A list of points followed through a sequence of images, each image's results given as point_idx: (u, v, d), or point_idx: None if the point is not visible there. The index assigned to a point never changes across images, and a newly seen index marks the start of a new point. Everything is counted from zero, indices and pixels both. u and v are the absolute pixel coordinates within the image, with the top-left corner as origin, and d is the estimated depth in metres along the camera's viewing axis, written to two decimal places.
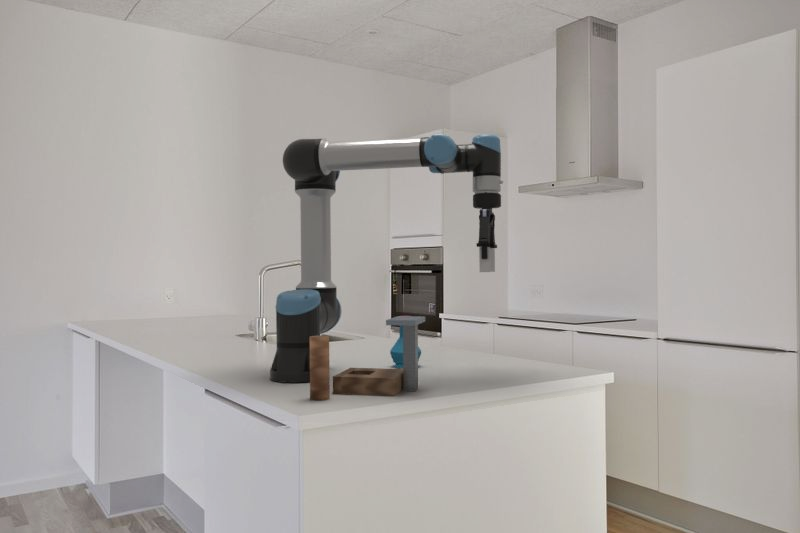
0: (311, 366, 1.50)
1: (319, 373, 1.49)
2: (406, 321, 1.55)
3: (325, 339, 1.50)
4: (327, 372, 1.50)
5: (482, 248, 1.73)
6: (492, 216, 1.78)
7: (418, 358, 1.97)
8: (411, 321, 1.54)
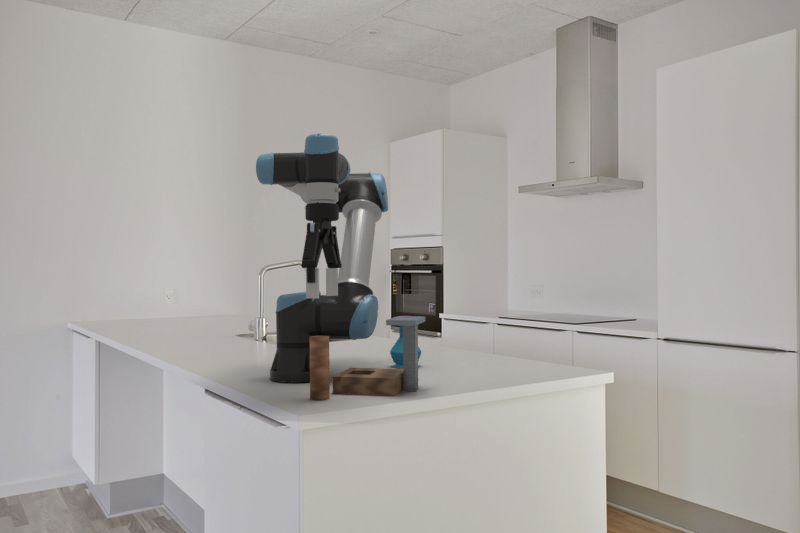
0: (311, 366, 1.50)
1: (319, 373, 1.49)
2: (406, 321, 1.55)
3: (325, 339, 1.50)
4: (327, 372, 1.50)
5: (308, 270, 1.43)
6: (326, 231, 1.49)
7: (418, 358, 1.97)
8: (411, 321, 1.54)
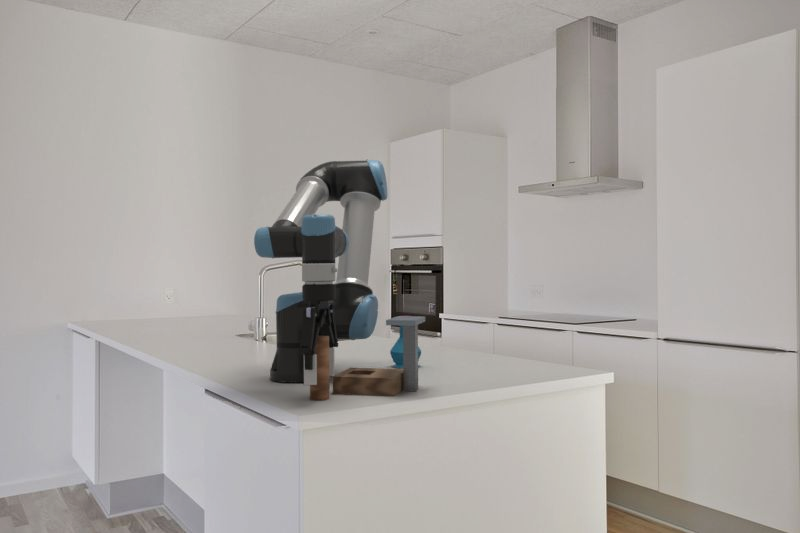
0: None
1: (319, 373, 1.49)
2: (406, 321, 1.55)
3: (325, 339, 1.50)
4: (327, 372, 1.50)
5: (305, 357, 1.44)
6: (323, 312, 1.49)
7: (418, 358, 1.97)
8: (411, 321, 1.54)
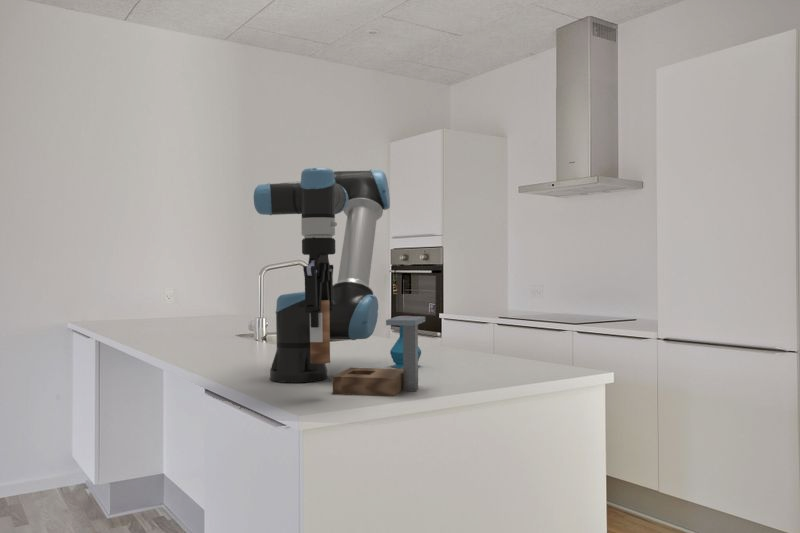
0: None
1: None
2: (406, 321, 1.55)
3: (325, 302, 1.50)
4: (327, 336, 1.51)
5: (311, 315, 1.48)
6: (322, 267, 1.49)
7: (418, 358, 1.97)
8: (411, 321, 1.54)
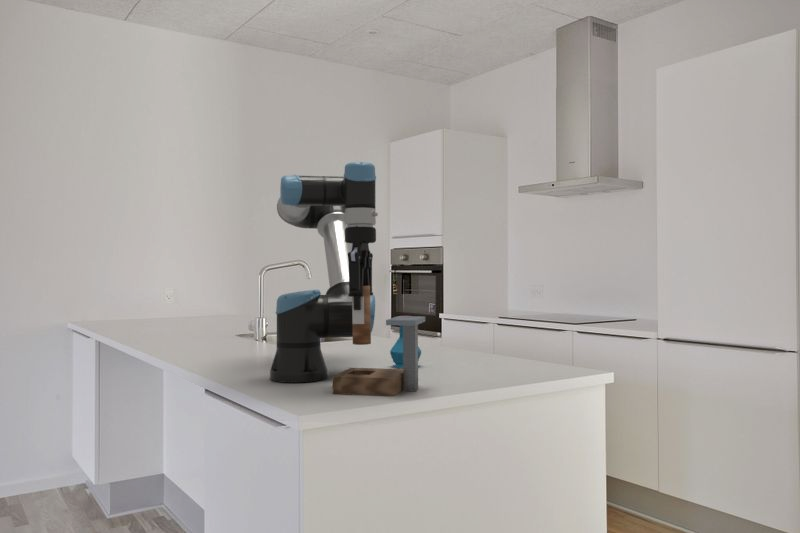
0: None
1: None
2: (406, 321, 1.55)
3: (366, 287, 1.61)
4: (369, 319, 1.61)
5: (354, 298, 1.59)
6: (364, 254, 1.60)
7: (418, 358, 1.97)
8: (411, 321, 1.54)
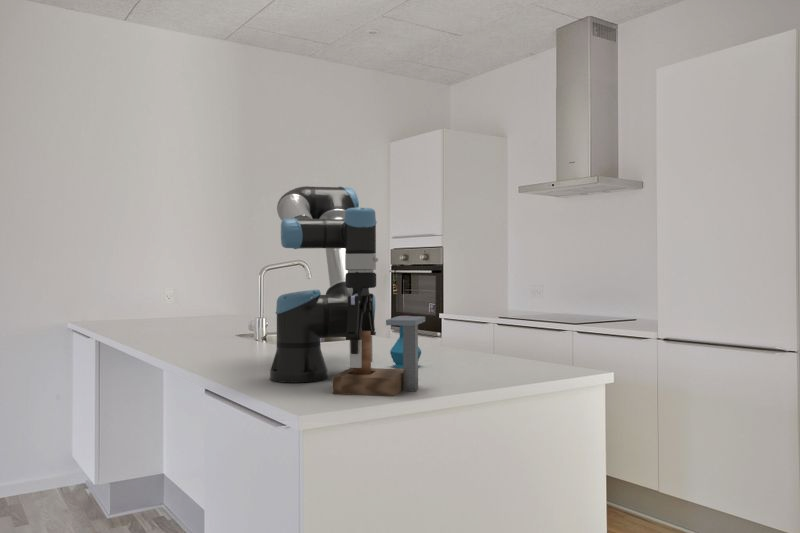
0: None
1: (362, 365, 1.60)
2: (406, 321, 1.55)
3: (367, 333, 1.61)
4: (369, 364, 1.61)
5: (351, 342, 1.56)
6: (365, 299, 1.60)
7: (418, 358, 1.97)
8: (411, 321, 1.54)
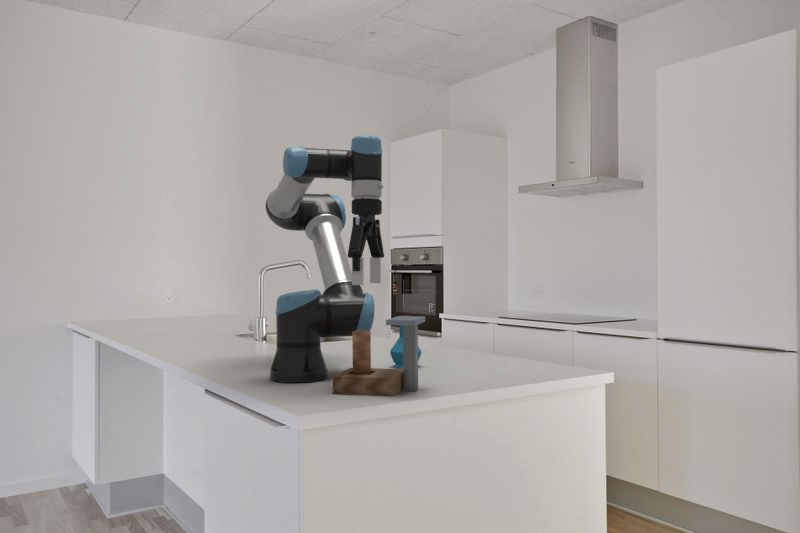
0: (354, 359, 1.61)
1: (362, 365, 1.60)
2: (406, 321, 1.55)
3: (367, 333, 1.61)
4: (369, 364, 1.61)
5: (353, 259, 1.59)
6: (370, 224, 1.64)
7: (418, 358, 1.97)
8: (411, 321, 1.54)
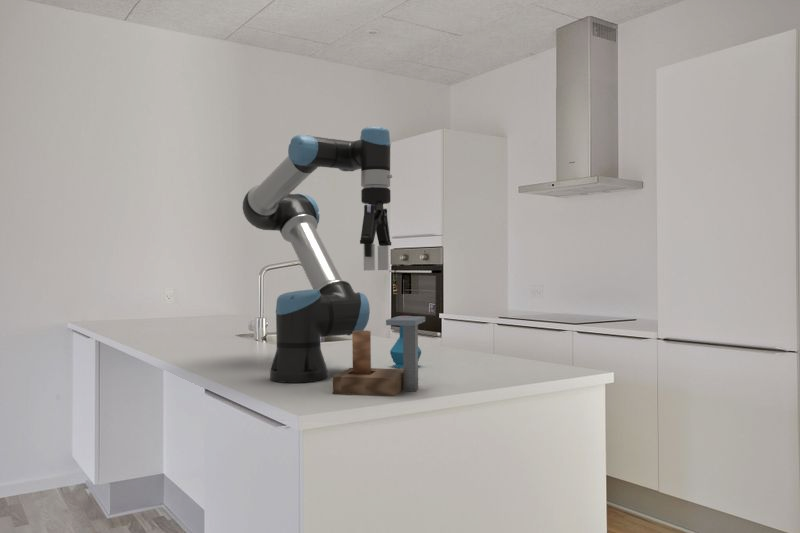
0: (354, 359, 1.61)
1: (362, 365, 1.60)
2: (406, 321, 1.55)
3: (367, 333, 1.61)
4: (369, 364, 1.61)
5: (365, 245, 1.65)
6: (380, 212, 1.71)
7: (418, 358, 1.97)
8: (411, 321, 1.54)
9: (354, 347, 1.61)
